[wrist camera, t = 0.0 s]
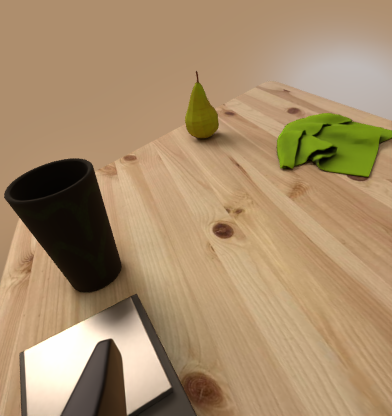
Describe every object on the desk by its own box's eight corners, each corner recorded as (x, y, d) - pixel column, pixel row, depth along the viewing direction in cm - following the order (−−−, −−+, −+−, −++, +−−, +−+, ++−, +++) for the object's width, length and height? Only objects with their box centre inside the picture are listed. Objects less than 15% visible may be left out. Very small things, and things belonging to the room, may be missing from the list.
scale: (207, 441, 19) (199, 420, 18) (46, 557, 16) (19, 546, 15) (143, 309, 29) (134, 288, 27) (33, 368, 26) (15, 348, 24)
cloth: (328, 111, 61) (329, 99, 59) (441, 146, 43) (447, 130, 42) (237, 143, 56) (235, 130, 54) (324, 196, 38) (325, 179, 37)
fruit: (189, 145, 58) (176, 79, 52) (187, 134, 63) (175, 72, 57) (222, 139, 58) (214, 72, 51) (218, 128, 63) (210, 65, 56)
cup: (124, 295, 31) (77, 194, 24) (50, 305, 31) (-15, 209, 24) (135, 244, 37) (101, 152, 30) (74, 253, 37) (27, 165, 31)
